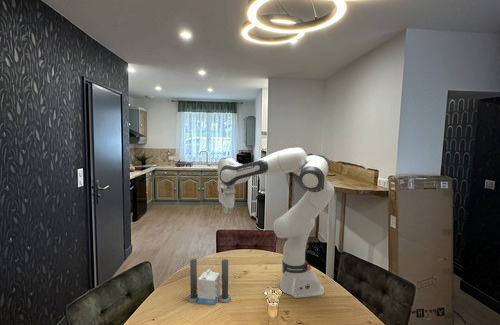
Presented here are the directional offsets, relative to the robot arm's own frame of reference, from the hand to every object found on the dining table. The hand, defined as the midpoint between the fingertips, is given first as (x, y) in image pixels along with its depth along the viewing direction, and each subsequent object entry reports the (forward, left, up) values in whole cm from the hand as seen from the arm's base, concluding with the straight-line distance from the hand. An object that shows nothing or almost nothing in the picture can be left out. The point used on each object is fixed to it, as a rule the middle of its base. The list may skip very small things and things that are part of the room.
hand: (225, 213), depth 147 cm
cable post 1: (+13, +19, -37) cm, 44 cm away
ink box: (+6, +19, -37) cm, 42 cm away
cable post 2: (-2, +19, -37) cm, 42 cm away
